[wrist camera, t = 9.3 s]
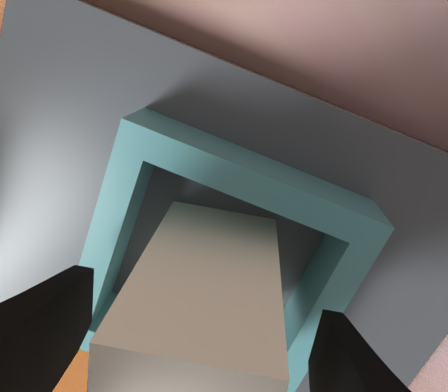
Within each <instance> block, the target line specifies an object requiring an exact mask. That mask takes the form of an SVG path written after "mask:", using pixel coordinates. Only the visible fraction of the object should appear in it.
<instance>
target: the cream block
mask: <svg viewBox="0 0 448 392" xmlns="http://www.w3.org/2000/svg"><path fill="white" fill-rule="evenodd" d="M289 382H290V379H289V368H288V356H287V344H286V333H285V321H284V309H283V297H282V286H281V274H280V262H279V251H278V239H277V227H276V219H271V218H265V217H260V216H254V215H249V214H243V213H238V212H232V211H227V210H221V209H215V208H210V207H204V206H199V205H193V204H188V203H182V202H177V201H173V203H172V205H171V206H170V208H169V210H168V211H167V213H166V215H165V216H164V218H163V220H162V221H161V223H160V225H159V226H158V228H157V230H156V231H155V233H154V235H153V237H152V238H151V240H150V242H149V243H148V245H147V247H146V248H145V250H144V252H143V253H142V255H141V257H140V258H139V260H138V262H137V263H136V265H135V267H134V268H133V270H132V272H131V274H130V275H129V277H128V279H127V280H126V282H125V284H124V285H123V287H122V289H121V290H120V292H119V294H118V295H117V297H116V299H115V300H114V302H113V304H112V305H111V307H110V309H109V310H108V312H107V314H106V316H105V317H104V319H103V321H102V322H101V324H100V326H99V327H98V329H97V331H96V332H95V334H94V336H93V337H92V339H91V341H90V342H89V362H88V383H87V392H287V389H288V385H289Z"/></svg>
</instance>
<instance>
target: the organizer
mask: <svg viewBox="0 0 448 392" xmlns="http://www.w3.org/2000/svg"><path fill="white" fill-rule="evenodd" d="M173 201H177V202H182V203H188V204H193V205H199V206H204V207H210V208H215V209H221V210H227V211H232V212H238V213H243V214H249V215H254V216H260V217H265V218H271V219H276V227H277V239H278V251H279V262H280V274H281V286H282V297H283V309H284V321H285V333H286V344H287V356H288V368H289V379H290V382H289V385H288V389H287V392H310V389H309V370H308V360H309V356H310V353H311V349H312V346H313V342H314V339H315V335H316V332H317V328H318V324H319V321H320V317H321V314H322V310H323V309H325V310H331V311H337V312H342V313H344V315H345V316H346V317H347V318H348V319H349V321H350V322H351V323H352V324H353V326H354V327H355V328H356V329H357V331H358V332H359V333H360V334H361V336H362V337H363V338H364V339H365V340H366V342H367V343H368V344H369V345H370V347H371V348H372V349H373V350H374V351H375V353H376V354H377V355H378V356H379V357H380V358H381V360H382V361H383V362H384V363H385V364H386V365H387V366H388V368H389V369H390V370H391V371H392V372H393V373H394V374H395V375H396V376H397V377H398V378H399V379H400V380H401V382H402V383H403V384H404V385H405V386H406V387H408V386H409V385H410V383H411V382H412V381H413V379H414V378H415V377H416V375H417V374H418V373H419V371H420V370H421V369H422V367H423V366H424V365H425V363H426V362H427V361H428V359H429V358H430V357H431V355H432V354H433V353H434V351H435V350H436V349H437V347H438V346H439V345H440V343H441V342H442V341H443V339H444V338H445V337H446V335H447V334H448V152H446V151H443V150H441V149H438V148H436V147H434V146H431V145H429V144H426V143H424V142H422V141H419V140H417V139H414V138H412V137H410V136H407V135H405V134H402V133H400V132H398V131H395V130H393V129H390V128H388V127H385V126H383V125H381V124H378V123H376V122H373V121H371V120H369V119H366V118H364V117H361V116H359V115H357V114H354V113H352V112H349V111H347V110H345V109H342V108H340V107H337V106H335V105H333V104H330V103H328V102H325V101H323V100H321V99H318V98H316V97H313V96H311V95H308V94H306V93H304V92H301V91H299V90H296V89H294V88H292V87H289V86H287V85H284V84H282V83H280V82H277V81H275V80H272V79H270V78H268V77H265V76H263V75H260V74H258V73H256V72H253V71H251V70H248V69H246V68H244V67H241V66H239V65H236V64H234V63H231V62H229V61H227V60H224V59H222V58H219V57H217V56H215V55H212V54H210V53H207V52H205V51H203V50H200V49H198V48H195V47H193V46H191V45H188V44H186V43H183V42H181V41H179V40H176V39H174V38H171V37H169V36H166V35H164V34H162V33H159V32H157V31H154V30H152V29H150V28H147V27H145V26H142V25H140V24H138V23H135V22H133V21H130V20H128V19H126V18H123V17H121V16H118V15H116V14H114V13H111V12H109V11H106V10H104V9H102V8H99V7H97V6H94V5H92V4H89V3H87V2H85V1H82V0H6V3H5V9H4V16H3V22H2V28H1V34H0V302H3V301H5V300H7V299H9V298H11V297H13V296H15V295H18V294H20V293H22V292H24V291H26V290H27V289H29V288H31V287H33V286H35V285H37V284H39V283H41V282H43V281H45V280H47V279H49V278H50V277H52V276H54V275H56V274H58V273H60V272H62V271H64V270H66V269H68V268H70V267H72V266H74V265H79V266H84V267H90V268H94V285H93V312H92V323H91V325H90V328H89V330H88V332H87V334H86V336H85V338H84V340H83V342H82V344H81V346H80V348H79V349H81V350H83V351H86V352H89V342H90V341H91V339H92V337H93V336H94V334H95V332H96V331H97V329H98V327H99V326H100V324H101V322H102V321H103V319H104V317H105V316H106V314H107V312H108V310H109V309H110V307H111V305H112V304H113V302H114V300H115V299H116V297H117V295H118V294H119V292H120V290H121V289H122V287H123V285H124V284H125V282H126V280H127V279H128V277H129V275H130V274H131V272H132V270H133V268H134V267H135V265H136V263H137V262H138V260H139V258H140V257H141V255H142V253H143V252H144V250H145V248H146V247H147V245H148V243H149V242H150V240H151V238H152V237H153V235H154V233H155V231H156V230H157V228H158V226H159V225H160V223H161V221H162V220H163V218H164V216H165V215H166V213H167V211H168V210H169V208H170V206H171V205H172V203H173Z"/></svg>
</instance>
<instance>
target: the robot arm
mask: <svg viewBox="0 0 448 392" xmlns="http://www.w3.org/2000/svg"><path fill="white" fill-rule="evenodd" d="M93 285H94V268H90V267H84V266H79V265H74V266H72V267H70V268H68V269H66V270H64V271H62V272H60V273H58V274H56V275H54V276H52V277H50V278H49V279H47V280H45V281H43V282H41V283H39V284H37V285H35V286H33V287H31V288H29V289H27V290H26V291H24V292H22V293H20V294H18V295H15V296H13V297H11V298H9V299H7V300H5V301H3V302H0V392H52V391H53V389H54V388H55V386H56V385H57V383H58V382H59V380H60V379H61V377H62V376H63V374H64V372H65V371H66V369H67V368H68V366H69V365H70V363H71V362H72V360H73V358H74V357H75V355H76V354H77V352H78V350H79V348H80V346H81V344H82V342H83V340H84V338H85V336H86V334H87V332H88V330H89V328H90V325H91V323H92V312H93ZM308 370H309V389H310V392H411V391H410V390H409V389H408V388H407V387H406V386H405V385H404V384H403V383H402V382H401V380H400V379H399V378H398V377H397V376H396V375H395V374H394V373H393V372H392V371H391V370H390V369H389V368H388V366H387V365H386V364H385V363H384V362H383V361H382V360H381V358H380V357H379V356H378V355H377V354H376V353H375V351H374V350H373V349H372V348H371V347H370V345H369V344H368V343H367V342H366V340H365V339H364V338H363V337H362V336H361V334H360V333H359V332H358V331H357V329H356V328H355V327H354V326H353V324H352V323H351V322H350V321H349V319H348V318H347V317H346V316H345V315H344V313H342V312H337V311H331V310H325V309H323V310H322V314H321V317H320V321H319V324H318V328H317V332H316V335H315V339H314V342H313V346H312V349H311V353H310V356H309V360H308Z"/></svg>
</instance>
